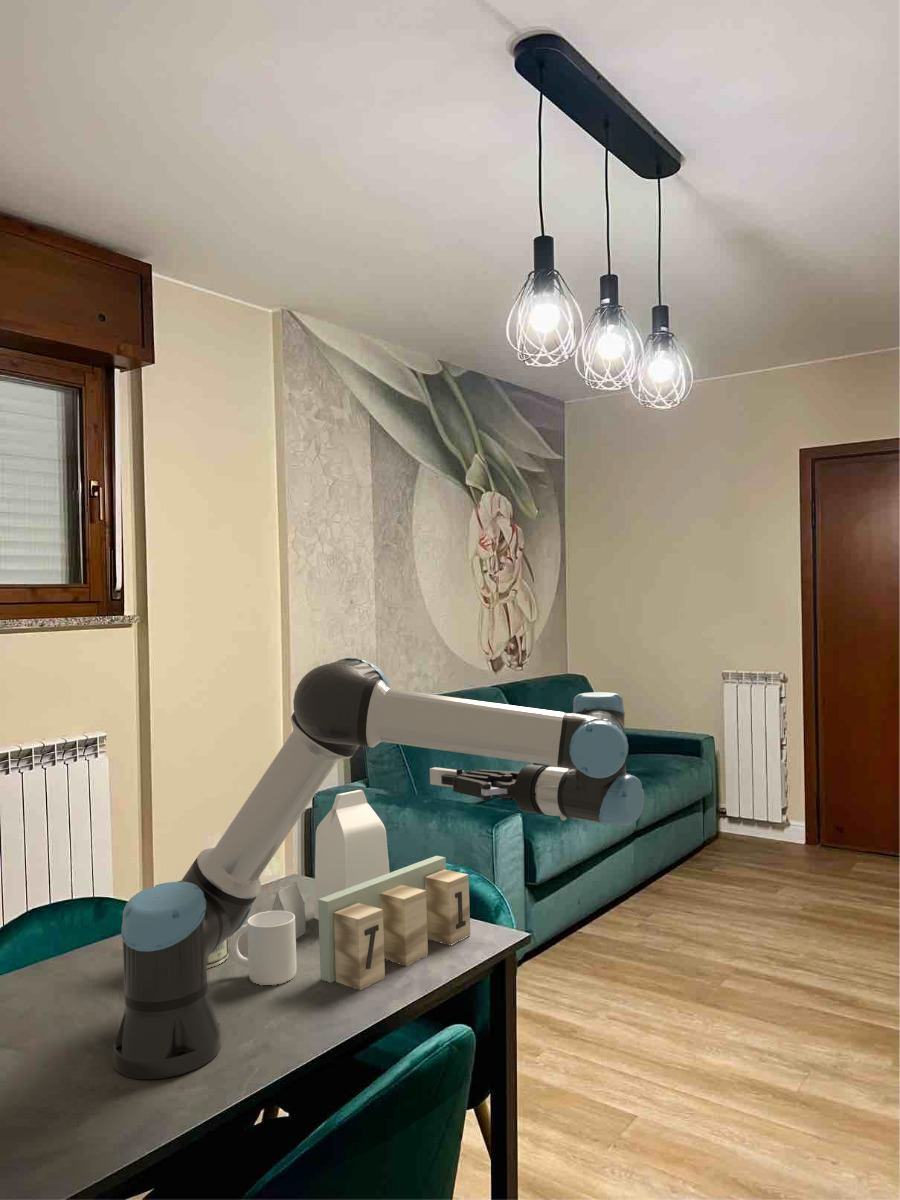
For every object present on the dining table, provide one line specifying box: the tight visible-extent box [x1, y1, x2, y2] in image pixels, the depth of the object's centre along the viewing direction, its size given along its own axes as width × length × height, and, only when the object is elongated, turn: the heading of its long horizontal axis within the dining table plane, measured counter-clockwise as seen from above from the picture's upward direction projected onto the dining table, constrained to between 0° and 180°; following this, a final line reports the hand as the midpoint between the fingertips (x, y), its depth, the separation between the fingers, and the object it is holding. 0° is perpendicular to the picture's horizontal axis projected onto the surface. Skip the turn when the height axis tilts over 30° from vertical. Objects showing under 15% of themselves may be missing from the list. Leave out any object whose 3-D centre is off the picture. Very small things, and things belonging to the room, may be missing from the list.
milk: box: [313, 789, 391, 921], centre depth 189 cm, size 12×12×26 cm
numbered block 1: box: [425, 869, 471, 946], centre depth 175 cm, size 6×6×12 cm
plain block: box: [380, 885, 429, 966], centre depth 167 cm, size 6×6×12 cm
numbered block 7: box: [334, 903, 386, 991], centre depth 157 cm, size 6×6×12 cm
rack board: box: [318, 855, 447, 984], centre depth 169 cm, size 2×32×14 cm, turn 140°
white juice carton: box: [270, 881, 306, 940], centre depth 178 cm, size 4×7×10 cm, turn 159°
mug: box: [229, 910, 297, 986], centre depth 160 cm, size 12×8×10 cm
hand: (432, 775), depth 157 cm, fingers closed
